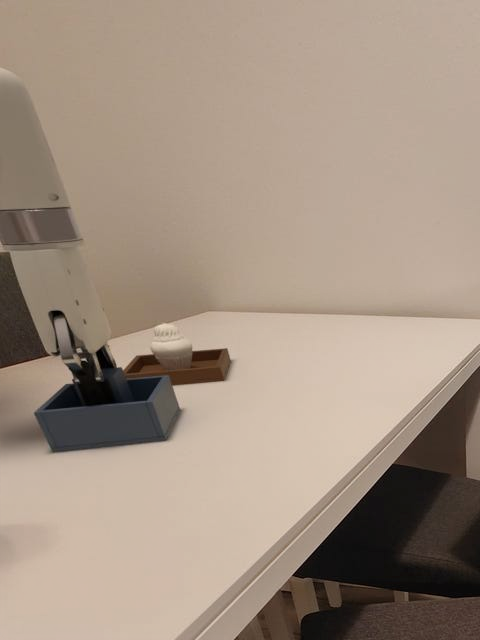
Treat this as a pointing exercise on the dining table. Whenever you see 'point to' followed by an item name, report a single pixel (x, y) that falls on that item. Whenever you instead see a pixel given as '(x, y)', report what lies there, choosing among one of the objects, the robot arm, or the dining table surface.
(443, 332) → the dining table surface
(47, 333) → the robot arm
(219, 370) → the brown tray
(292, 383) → the dining table surface
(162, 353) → the muffin
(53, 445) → the blue bin
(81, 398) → the blue block
